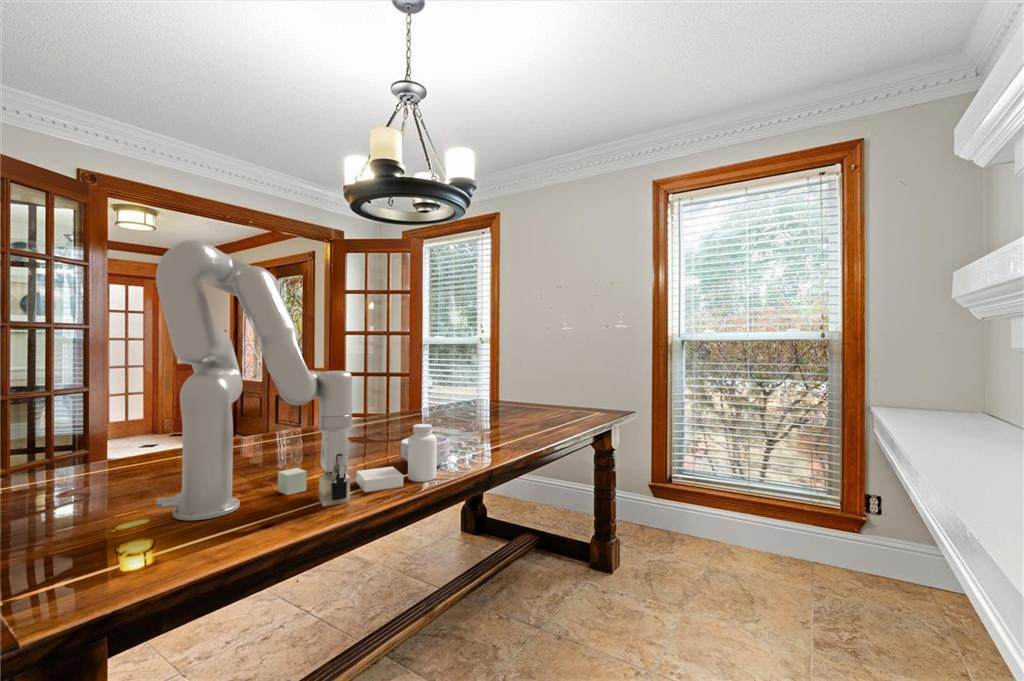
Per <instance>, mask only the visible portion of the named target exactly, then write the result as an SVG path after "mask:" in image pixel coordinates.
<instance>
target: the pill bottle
mask: <svg viewBox="0 0 1024 681" xmlns="http://www.w3.org/2000/svg"><path fill="white" fill-rule="evenodd" d="M412 432H413V434H412V435H410V436H409V437H408V438H409V440H408V462H407V477H408V478H407V479H408V480H409V481H412V482H418V483H423V482H430V481H432V480H435V479H436V477H437V472H438V471H437V469H438V468H437V467H438V466H437V439H436V436H437V435H435V434H433V425H432V424H429V423H417V424H414V425H413V426H412Z"/></svg>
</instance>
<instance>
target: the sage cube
mask: <svg viewBox="0 0 1024 681" xmlns="http://www.w3.org/2000/svg"><path fill="white" fill-rule="evenodd" d="M307 475H308V474H307V470H304V469H302V468H299V467H295V468H289V469H285V470H279V471H277V492H279V493H281V494H283V495H286V496H288V495H292V494H293V495H294V494H298V493H300V492H301V493H302V492H306V491H307Z"/></svg>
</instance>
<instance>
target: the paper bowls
mask: <svg viewBox="0 0 1024 681" xmlns="http://www.w3.org/2000/svg"><path fill="white" fill-rule="evenodd" d="M435 436H436V439H437V467H438V466H440V465H441V464H443V461H444V460H445V458H447V457H449V456H450V448H451V447H450V445H451V441H450V438H448V437H446V436H442V435H441V436H439V435H435ZM408 440H409V437H406V438H404V439H402V440H401V441H400V457H401V458H403V459H406V462H407V463H408Z"/></svg>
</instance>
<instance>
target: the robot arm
mask: <svg viewBox="0 0 1024 681" xmlns="http://www.w3.org/2000/svg"><path fill="white" fill-rule="evenodd" d="M155 282H156V288H157V293H158V297H159V299H160V304H161V308H162V310H163V316H164V321H165V323H166V328H167V331H168V335H169V339H170V342H171V347H172V351H173V353H174V355H175V357H176V358H177V359H178V360H179V361H180V362H182V363H184V364H186V365H191V366H192V370H193V374H191V375H190V376H189V377H187V379H186V380H185V381H183V384H182V386H181V388H180V392H179V405H180V413H181V421H182V422H181V423H182V424H181V425H182V429H181V430H182V440H181V441H182V443H181V444H182V457H181V458H182V460H181V461H182V463H181V465H182V467H181V490H180V493H178V494H175V495H174V496H169V497H168V496H167V497H166V496H165V497H157V498H156V508H161V509H163V510H164V509H170V508H174V509H173V510H172V517H173V518H174V519H176V520H179V521H201V520H202V521H203V520H209V519H215V518H218V517H223V516H226V515H229V514H231V513H233V512H234V511H236V510H238V509H239V507H240V504H241V503H240V502H241V501H240V499H238V498H237V497H233V464H234V463H233V458H234V457H233V456H234V454H233V452H234V450H233V449H234V436H233V435H234V426H233V425H234V423H233V422H234V420H233V412H232V404H233V403H235V402H236V401H237V400H238V399H239V397H240V396H241V395H242V393H243V379H242V378H243V377H242V373H241V370H240V367H239V364H238V360H237V356H236V351H235V349H234V345H233V342H232V339H231V337H230V336H229V334H228V332H227V331H226V330H225V329H223V328H222V327H220V326H219V325H216V324H215V323H214V320H213V317H212V314H211V309H210V305H209V301H208V299H207V296H206V294H205V290H204V287H203V284H206V285H208V286H212V287H214V288H216V289H218V290H220V291H223V292H226V293H227V294H231V295H232V296H235V297H237V299H238V301H239V304H240V306H241V308H242V310H243V312H244V314H245V316H246V319H247V320H248V323H249V324H250V327H251V330H253V333H254V335H255V338H256V341H257V343H258V347H259V350H260V352H261V355H262V357H263V360H264V363H265V365H266V369H267V371H268V373H269V375H270V377H271V379H272V381H273V383H274V386H275V387H276V389H277V392H278V394H279V395H280V397H281V398H282V399H283V400H284V402H286V403H287V404H289V405H291V406H292V405H293V406H303V405H306V404H308V403H309V402H310V401H312V400H318V430H320V431H321V444H320V447H321V449H320V466H321V468H322V470H323V471H324V474H330V473H332V475H333V483H332V500H340V499H345V498H346V497H347V481H346V473H347V472H346V471H347V470H348V469H349V430H350V429H352V428H353V376H352V373H351V372H350V371H347V370H325V371H318V370H317V371H315V370H309V368H308V366H307V364H306V361H305V360H304V358H303V355H302V353H301V350H300V348H299V345H298V340H297V329H296V324H295V323H294V321H293V319H292V316H291V314H290V313H289V311H288V310H289V309H288V308H287V306H286V304H285V302H284V300H283V298H282V294H281V293H280V284H279V281H278V280H277V278H276V276H275V275H273V274H272V272H270V271H268V270H267V269H266V268H263V267H261V266H257V265H250V264H249V263H247V262H244V261H241V260H240V259H238V258H236V257H233V256H231V255H229V254H227V253H226V252H223V251H221V250H220V249H218V248H216V247H215V246H213V245H211V244H210V243H208V242H205V241H203V240H198V239H196V240H195V239H189V240H184V241H181V242H179V243H177V244H175V245H172V246H171V247H170V248H168V250H166V251H165V253H164V254H163V255H162V257H161V258H160V260H159V262H158V265H157V268H156V272H155ZM336 473H337V475H336Z"/></svg>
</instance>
